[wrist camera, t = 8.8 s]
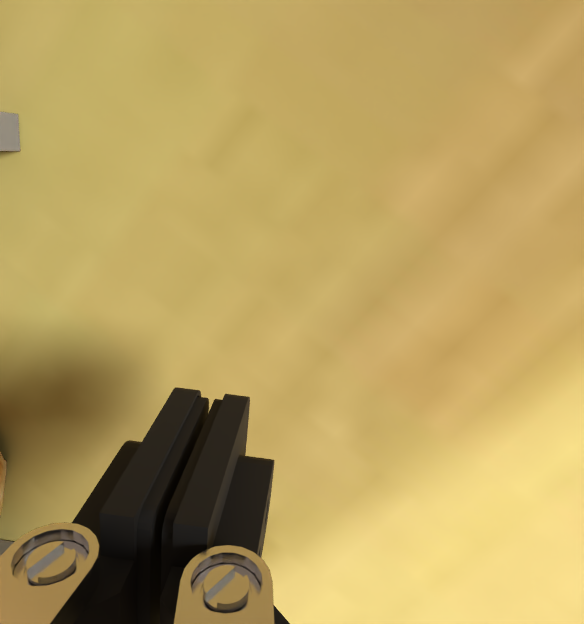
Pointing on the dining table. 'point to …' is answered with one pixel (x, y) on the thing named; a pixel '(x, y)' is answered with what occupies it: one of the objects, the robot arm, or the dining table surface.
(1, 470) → the pastry
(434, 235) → the dining table surface
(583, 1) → the dining table surface
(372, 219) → the dining table surface
